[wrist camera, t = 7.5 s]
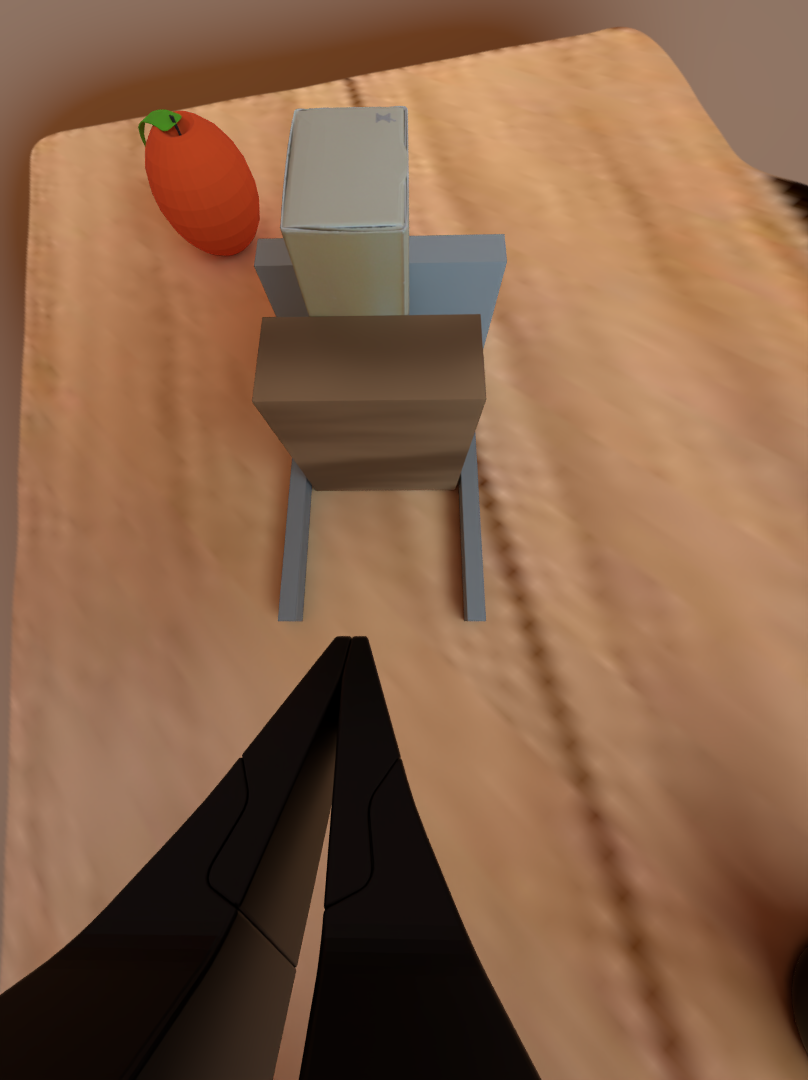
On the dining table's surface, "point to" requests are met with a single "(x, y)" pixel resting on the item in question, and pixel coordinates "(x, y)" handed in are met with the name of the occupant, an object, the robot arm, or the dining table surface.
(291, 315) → the backstop rail
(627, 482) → the dining table surface
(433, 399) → the walnut block
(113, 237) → the dining table surface
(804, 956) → the supplement bottle
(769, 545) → the dining table surface
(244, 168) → the red rounded fruit
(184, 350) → the dining table surface
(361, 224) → the skincare box
